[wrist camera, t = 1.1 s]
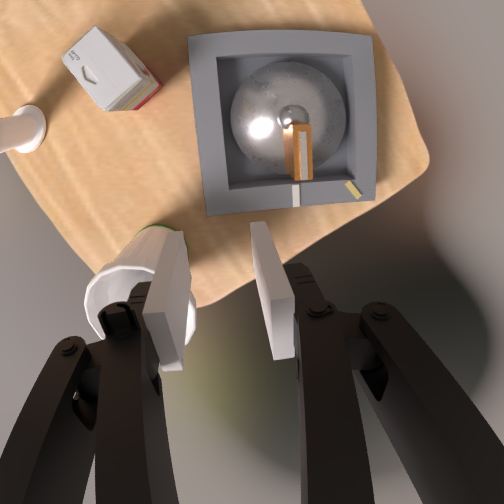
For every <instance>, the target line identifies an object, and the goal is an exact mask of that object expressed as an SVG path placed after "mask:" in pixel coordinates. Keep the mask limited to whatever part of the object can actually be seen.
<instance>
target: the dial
mask: <svg viewBox="0 0 504 504" xmlns="http://www.w3.org/2000/svg"><path fill="white" fill-rule="evenodd" d="M230 123H231V129H232V132H233V136H234V138H235V140H236V142H237V144H238V146H239V147H240V149H241V150H242V152H243V153H244V154H245V155H246V156H247V157H248V158H249V159H250V160H251V161H252V162H254V163H255V164H256V165H258V166H260V167H261V168H263V169H265V170H268V171H271V172H274V173H278V174H289V175H290V176H291V177H292V178H293V179H294V180H295V181H299V180H312V179H313V169H315V168H317V167H318V166H320V165H322V164H323V163H324V162H326V161H327V160H328V159H329V158H330V157H331V156H332V155H333V154H334V152H335V151H336V150H337V148H338V146H339V145H340V142H341V140H342V138H343V135H344V131H345V125H346V113H345V107H344V103H343V100H342V97H341V95H340V93H339V91H338V89H337V88H336V87H335V85H334V84H333V83H332V82H331V80H330V79H329V78H328V77H327V76H325V75H324V74H323V73H322V72H320V71H318V70H317V69H315V68H313V67H311V66H308V65H305V64H302V63H297V62H277V63H272V64H269V65H266V66H264V67H262V68H260V69H258V70H256V71H255V72H254V73H252V74H251V75H250V76H249V77H248V78H247V79H245V80H244V81H243V83H242V84H241V85H240V86H239V88H238V90H237V91H236V93H235V95H234V98H233V101H232V104H231V110H230Z"/></svg>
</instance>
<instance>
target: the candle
mask: <svg viewBox="0 0 504 504" xmlns="http://www.w3.org/2000/svg"><path fill="white" fill-rule="evenodd" d="M45 132H46V120H45V117H44V114H43V113H42V111H41V110H40V109H39V108H38V107H36V106H34V105H25V106H22V107H20V108H19V109H18V110H16V112H15V113H14V114H13V116H10V117H5V118H0V153H2V152H5V151H8V150H11V149H14V148H15V149H16V150H17V151H19V152H21V153H29V152H31V151H34V150H35V149H36V148H38V147H39V145H40V144H41V143H42V141H43V139H44V136H45Z"/></svg>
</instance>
